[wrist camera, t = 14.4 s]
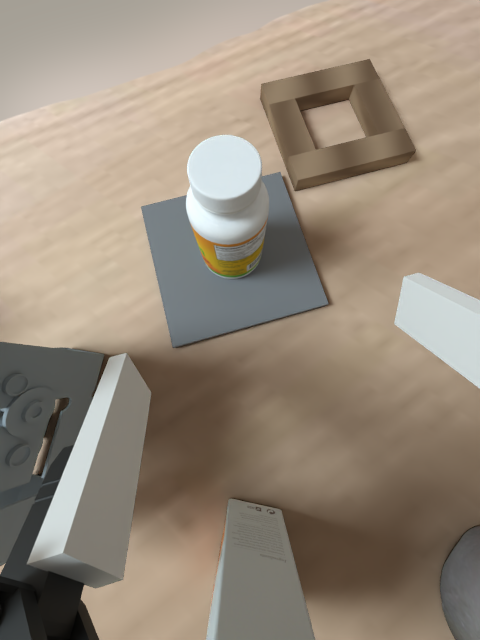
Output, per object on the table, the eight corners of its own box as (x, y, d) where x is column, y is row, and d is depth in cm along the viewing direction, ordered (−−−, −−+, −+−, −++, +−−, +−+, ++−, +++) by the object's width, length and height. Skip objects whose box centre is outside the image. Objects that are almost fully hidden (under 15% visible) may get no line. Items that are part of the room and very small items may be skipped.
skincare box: (227, 495, 19) (204, 708, 7) (281, 507, 19) (351, 745, 7) (211, 587, 18) (150, 1027, 6) (269, 600, 17) (326, 1082, 6)
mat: (279, 176, 24) (280, 171, 24) (326, 305, 22) (328, 303, 21) (143, 210, 24) (140, 206, 23) (174, 347, 21) (172, 347, 20)
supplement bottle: (200, 229, 23) (169, 128, 13) (257, 223, 23) (268, 118, 13) (205, 283, 22) (175, 216, 12) (265, 277, 22) (282, 204, 12)
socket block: (363, 74, 27) (369, 59, 26) (406, 162, 25) (416, 150, 23) (260, 98, 26) (261, 83, 25) (294, 191, 24) (298, 180, 23)
